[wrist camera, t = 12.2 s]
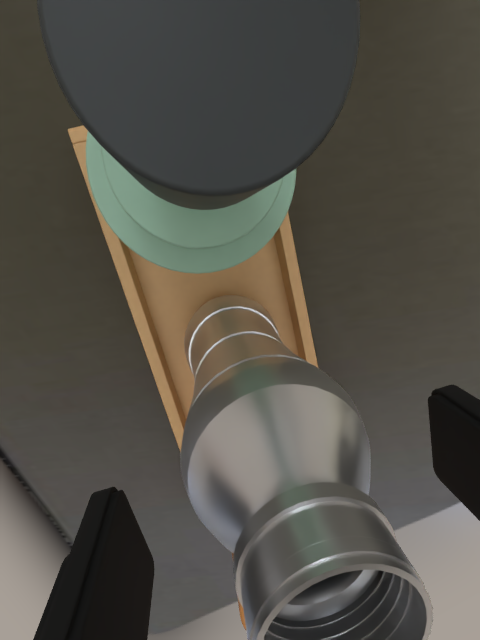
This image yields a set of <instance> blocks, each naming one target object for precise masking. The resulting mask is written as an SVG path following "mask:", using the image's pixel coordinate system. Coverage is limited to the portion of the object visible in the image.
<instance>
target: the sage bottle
mask: <svg viewBox="0 0 480 640" xmlns="http://www.w3.org/2000/svg"><path fill="white" fill-rule="evenodd" d="M37 6H38V14H39V20H40V26H41V32H42V37H43V41H44V44H45V48H46V51H47V55H48V58H49V62H50V64H51V67H52V69H53V71H54V74H55V76H56V79H57V81H58V84H59V86H60V88H61V90H62V91H63V93H64V95H65V97H66V99H67V101H68V103H69V104H70V106H71V108H72V109H73V111H74V112H75V114H76V115H77V117H78V118H79V119H80V121H81V122H82V124H83V125H84V127H85V128H86V129H87V130H88V132H87V140H86V168H87V174H88V180H89V184H90V187H91V191H92V194H93V197H94V199H95V202H96V204H97V206H98V209H99V210H100V212H101V214H102V216H103V217H104V219H105V221H106V222H107V224H108V225H109V226H110V228H111V229H112V231H113V232H114V233H115V234H116V235H117V236H118V237H119V239H120V240H121V241H122V242H123V243H124V244H125V245H127V246H128V247H129V248H130V249H131V250H133V251H134V252H135V253H136V254H138V255H140V256H141V257H143V258H144V259H146V260H147V261H150V262H152V263H154V264H156V265H158V266H160V267H163V268H166V269H169V270H173V271H178V272H183V273H195V274H200V273H212V272H217V271H222V270H225V269H228V268H231V267H234V266H236V265H238V264H240V263H242V262H244V261H246V260H247V259H249V258H250V257H252V256H253V255H255V254H256V253H257V252H258V251H260V250H261V249H262V248H263V247H264V246H265V245H266V244H267V243H268V242H269V241H270V240H271V238H272V237H273V236H274V235H275V233H276V232H277V230H278V229H279V227H280V226H281V224H282V222H283V220H284V218H285V216H286V214H287V212H288V209H289V207H290V204H291V201H292V197H293V193H294V189H295V181H296V168H297V167H298V166H299V165H300V164H301V163H303V162H304V161H305V160H306V159H307V158H308V157H309V156H310V155H311V154H312V153H313V152H314V151H315V150H316V148H317V147H318V146H319V145H320V144H321V143H322V141H323V140H324V138H325V137H326V135H327V134H328V132H329V131H330V130H331V128H332V127H333V125H334V123H335V121H336V119H337V117H338V115H339V113H340V111H341V109H342V108H343V105H344V102H345V100H346V97H347V94H348V92H349V89H350V86H351V82H352V78H353V74H354V70H355V67H356V60H357V53H358V47H359V37H360V4H359V0H37Z"/></svg>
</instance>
